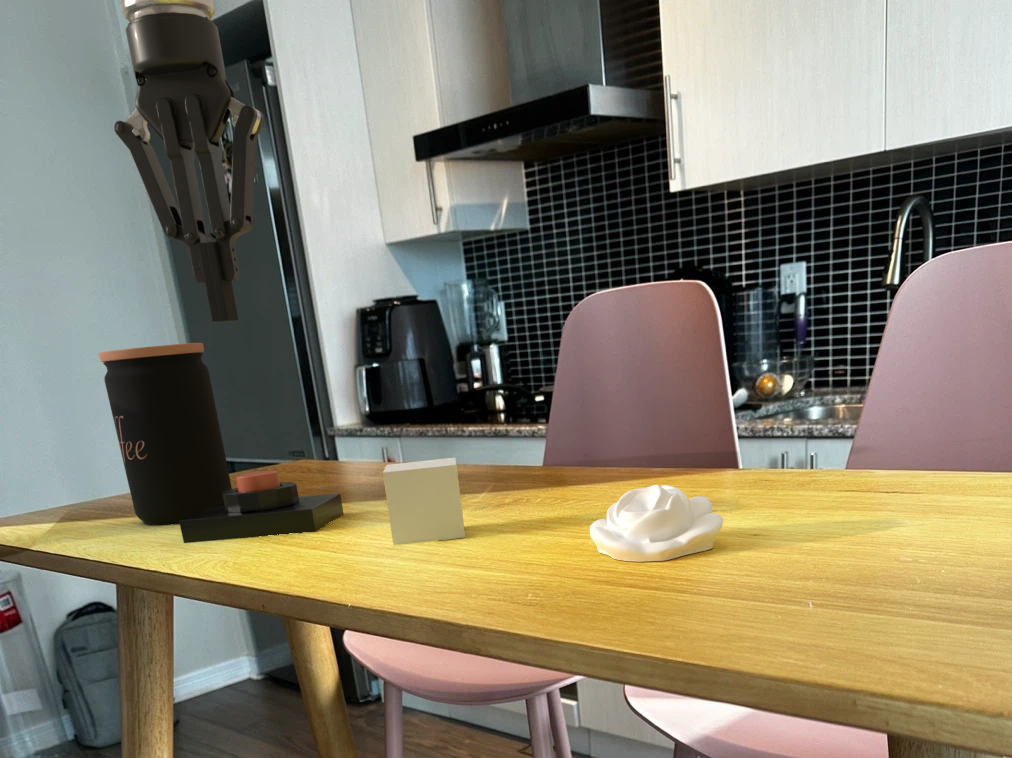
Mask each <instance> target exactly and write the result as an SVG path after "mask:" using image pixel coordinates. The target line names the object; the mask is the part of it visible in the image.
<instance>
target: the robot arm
mask: <svg viewBox="0 0 1012 758" xmlns="http://www.w3.org/2000/svg"><path fill="white" fill-rule="evenodd" d="M119 5H120V10H121V15H122V17H123V18H124V19H125V20H127V21H128V23H127V26H126V27H125V34H126V39H127V44H128V50H129V54H130V61H131V66H132V70H133V74H134V77H135V81H136V93H135V98H134V105H135V110H134V111H133V112H131V114H130V115H129V116H128V117H127V118H126V120H124V121H123V120H117V121H116V122H115V123H114V125H113V130H114V132H115V134H116V135H117V137H118V138H119V139H120V140H121V141H122V143H123V144H124V145H125V146H126V148H127V149H128V150H129V152H130V155H131V157H132V159H133V162H134V164H135V167H136V168H137V171H138V173H139V175H140V178H141V180H142V183H143V185H144V187H145V190H146V192H147V193H146V194H147V195H148V197H149V200H150V202H151V205H152V207H153V209H154V211H155V212H154V213H155V214H156V216H157V219H158V222H159V223H160V226H161V228H162V231H163V233H164V235H165V236H166V237H168V238H171V239H174V240H179V241H182V242H183V243H185V245H186V246H187V248H188V253H189V256H190V263H191V268H192V273H193V278H194V280H195V281H196V283H197V284H204V285H205V290H206V297H207V301H208V306H209V312H210V316H211V322H218V323H219V322H221V323H222V322H223V323H225V322H234V321H239V316H238V310H237V304H236V299H235V294H234V293H235V292H234V288H233V287H234V286H233V283H232V281H239V280H240V277H241V272H240V267H239V266H240V264H239V260H238V254H237V249H236V242H237V239H238V238H239V237H240V236H242V235H244V234H247V233H250V232H251V231H252V230H253V227H254V209H255V208H254V207H255V200H254V199H255V183H256V182H255V178H256V158H257V157H256V155H257V140H258V138H259V135H260V132H261V130H262V127H263V125H264V121H265V118H264V114H263V113H262V112H261V111H260V110H258V108H257V109H256V108H255V107H253V106H251V105H249V104H245V103H243V102H241V101H240V100H238V99H236V98H235V97H236V95H235V92H234V90H233V88H232V87H231V86H230V84H229V82H228V80H227V77H226V69H225V63H224V57H223V51H222V45H221V40H220V33H219V27H218V26H217V25H216V24H215V23H214V22H213V21H212V19H213V18H214V16H215V14H216V12H215V6H214V0H119ZM229 118H231V119H230V123H231V126H232V128H233V134H232V148H231V149H232V150H231V151H232V152H231V153H232V154H231V178H230V179H231V180H230V181H231V183H230V198H229V193H228V187H227V182H226V175H225V171H224V166H223V160H222V159H223V155H224V154H223V149H222V142H221V138H222V136H223V133H224V131H225V128H226V126H227V124H228V121H229ZM148 125H149V126H150V128H151V129H152V130H153V131H154V132H155V133H156V134H157V136H158V137H159V138H160V139H161V140H162V141H163V143H164V148H165V153H166V156H167V157H168V159H169V162H170V168H171V173H172V179H173V184H174V190H175V195H176V199H177V203H176V200H175V198H174V195H173V192H172V191H171V190H172V189H171V188H170V186H169V183H168V181H167V178H166V176H165V172H164V170H163V168H162V166H161V163H160V161H159V159H158V156H157V154H156V152H155V149H154V148H153V146H152V144H151V143H150V140H151V133H150V131H149V128H148ZM195 153H196V154H195ZM196 155H197V158H198V165H199V170H200V175H201V181H202V186H203V192H204V197H205V201H206V207H207V212H208V218H209V224H210V229H211V232H209V233H208V232H207V226H206V221H205V215H204V209H203V204H202V199H201V193H200V188H199V182H198V177H197V171H196V165H195V160H196ZM208 234H209V236H210V237H208ZM212 239H213V240H215V241H212Z"/></svg>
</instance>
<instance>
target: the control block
mask: <svg viewBox="0 0 1012 758" xmlns="http://www.w3.org/2000/svg"><path fill="white" fill-rule="evenodd" d="M279 483H280V487H276V488H272V489H265V490H258V491H248V492H238V487H235V488H232V489H229V490H227V491H224V492H222V495H223V500H224V504H218V505H215V506H213V507H211V508H208V509H206V510H203V511H201V512H199V513H196V514H194V515H192V516H189V517H187V518H184V519H182V520H180V521H179V523H180V524H179V528H180V532H181V537H182V540H183V544H189V543H201V542H203V543H204V542H213V541H214V542H215V541H225V540H236V539H237V540H238V538H239V539H249V537H250V538H259V536H262V537H269V536H268V535H274V536H280V535H279V534H286V535H290V534H289V533H298V534H303V533H302V532H310V533H316V532H318V531H320V530H321V529H323V528H324V527H326V526H327V525H326V524H328V523H329V522H331V521H332V522H334V521H336V520H337V519H338V517H339V518H340V517H341V515H342V516H343V515H344V507H343V501H342V495H341V493H340V492H338V493H337V492H336V493H328V494H316V495H306V496H305V495H304V496H299V491H298V486H297V483H296V482H293V481H279ZM336 518H337V519H336ZM333 520H334V521H333ZM332 522H331V523H332ZM329 524H330V523H329ZM329 524H328V525H329ZM325 525H326V526H325ZM322 527H323V528H322ZM320 528H321V529H320ZM319 529H320V530H319ZM317 530H318V531H317ZM277 534H278V535H277Z"/></svg>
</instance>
